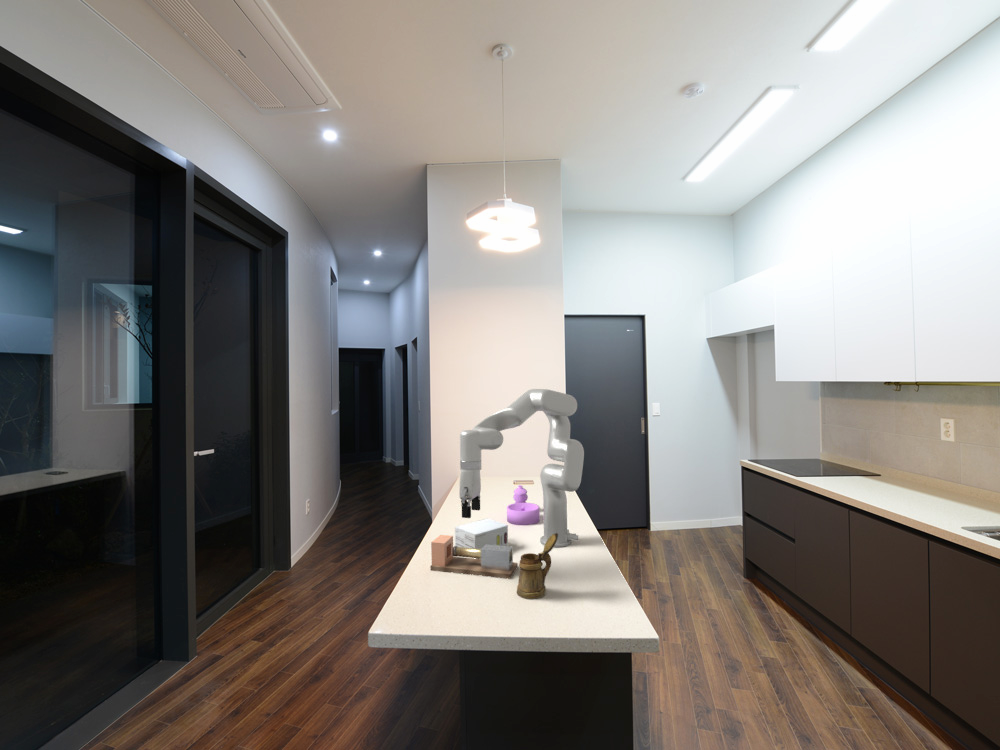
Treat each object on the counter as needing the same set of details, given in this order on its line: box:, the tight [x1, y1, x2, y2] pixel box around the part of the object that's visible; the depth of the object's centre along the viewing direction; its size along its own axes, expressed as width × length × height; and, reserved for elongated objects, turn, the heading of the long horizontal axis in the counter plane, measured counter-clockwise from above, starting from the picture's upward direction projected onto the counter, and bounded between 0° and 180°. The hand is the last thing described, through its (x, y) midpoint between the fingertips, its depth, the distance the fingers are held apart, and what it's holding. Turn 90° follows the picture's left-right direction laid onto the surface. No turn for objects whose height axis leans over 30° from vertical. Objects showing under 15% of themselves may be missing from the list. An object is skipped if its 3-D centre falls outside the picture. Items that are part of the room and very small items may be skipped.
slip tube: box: [452, 545, 511, 561], centre depth 164 cm, size 20×3×3 cm, turn 74°
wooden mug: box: [516, 533, 558, 600], centre depth 146 cm, size 9×14×18 cm, turn 98°
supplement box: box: [454, 517, 509, 549], centre depth 184 cm, size 17×13×9 cm
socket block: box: [430, 534, 454, 566], centre depth 168 cm, size 5×8×8 cm, turn 164°
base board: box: [430, 556, 518, 580], centre depth 164 cm, size 29×10×2 cm, turn 74°
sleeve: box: [481, 544, 514, 571], centre depth 162 cm, size 10×5×6 cm, turn 74°
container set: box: [506, 484, 541, 526], centre depth 224 cm, size 25×15×13 cm, turn 2°
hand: (471, 513), depth 165 cm, fingers open, 9 cm apart
